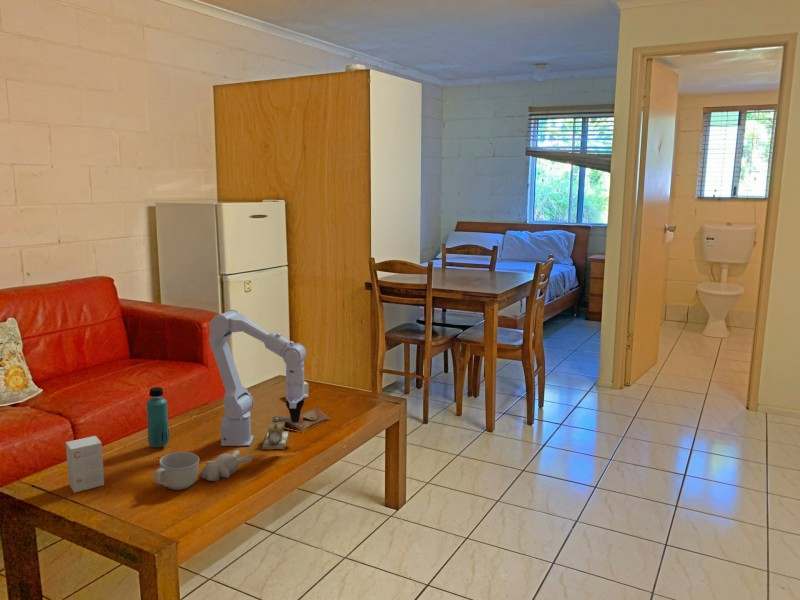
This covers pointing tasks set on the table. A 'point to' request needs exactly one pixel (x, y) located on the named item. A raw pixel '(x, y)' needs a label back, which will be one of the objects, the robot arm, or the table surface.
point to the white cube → (306, 388)
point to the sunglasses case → (308, 420)
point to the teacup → (178, 470)
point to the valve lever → (285, 419)
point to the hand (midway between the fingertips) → (295, 421)
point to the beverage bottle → (157, 418)
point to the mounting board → (279, 445)
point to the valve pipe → (275, 433)
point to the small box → (85, 463)
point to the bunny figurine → (223, 466)
